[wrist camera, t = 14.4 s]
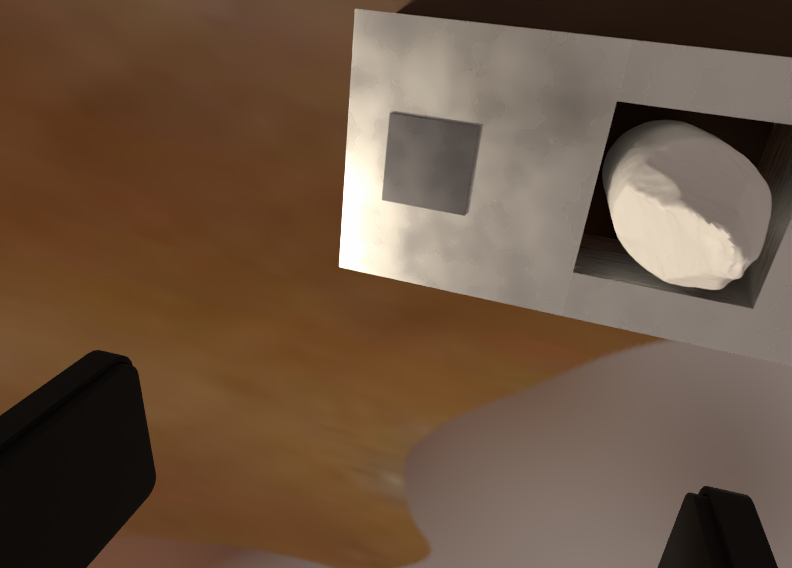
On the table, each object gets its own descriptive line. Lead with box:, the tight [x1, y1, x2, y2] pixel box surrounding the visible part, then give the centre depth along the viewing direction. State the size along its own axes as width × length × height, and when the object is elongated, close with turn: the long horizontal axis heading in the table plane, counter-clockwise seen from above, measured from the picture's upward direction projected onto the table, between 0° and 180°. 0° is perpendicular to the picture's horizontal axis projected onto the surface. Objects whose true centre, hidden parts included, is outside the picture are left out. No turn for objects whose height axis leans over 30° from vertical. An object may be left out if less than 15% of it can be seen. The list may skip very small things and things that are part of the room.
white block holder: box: [339, 9, 792, 366], centre depth 26 cm, size 12×30×6 cm, turn 84°
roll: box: [602, 120, 772, 290], centre depth 23 cm, size 6×12×6 cm
